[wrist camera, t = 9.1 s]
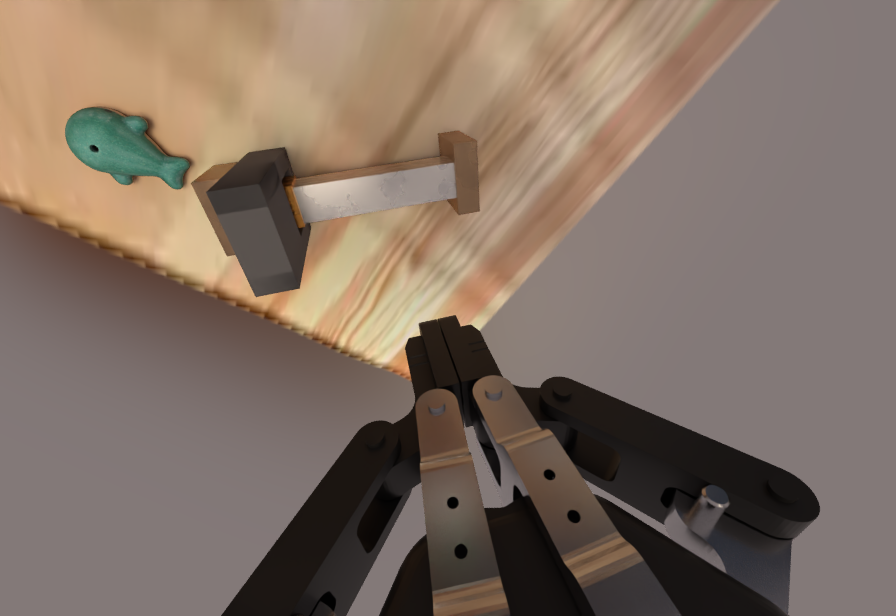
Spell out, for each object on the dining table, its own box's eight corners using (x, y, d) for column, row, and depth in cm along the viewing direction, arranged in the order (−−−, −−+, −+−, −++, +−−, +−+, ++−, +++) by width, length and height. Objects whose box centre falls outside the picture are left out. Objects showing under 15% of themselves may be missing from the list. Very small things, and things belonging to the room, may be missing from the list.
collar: (284, 147, 31) (259, 183, 22) (310, 227, 35) (299, 288, 26) (248, 152, 31) (205, 192, 21) (279, 233, 35) (255, 297, 25)
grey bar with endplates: (458, 130, 34) (476, 140, 30) (462, 193, 38) (479, 211, 33) (213, 165, 31) (190, 183, 26) (242, 230, 35) (227, 256, 30)
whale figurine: (92, 84, 27) (59, 87, 24) (202, 144, 30) (186, 153, 27) (73, 153, 29) (41, 164, 26) (179, 203, 32) (162, 217, 29)
